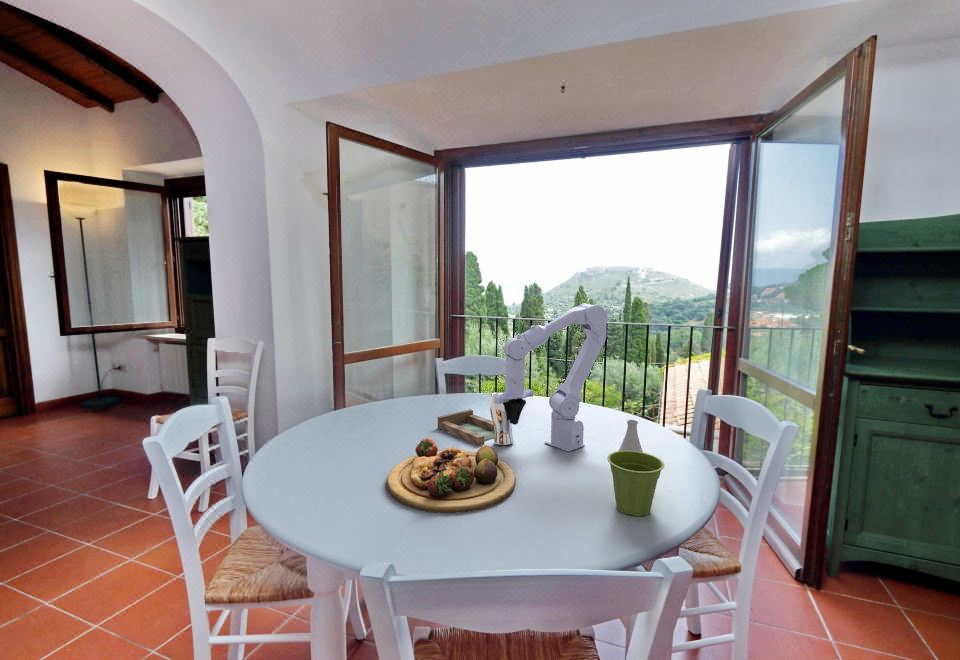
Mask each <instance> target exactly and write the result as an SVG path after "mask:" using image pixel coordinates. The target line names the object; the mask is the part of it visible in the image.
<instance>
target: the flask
mask: <svg viewBox="0 0 960 660" xmlns="http://www.w3.org/2000/svg"><path fill="white" fill-rule="evenodd" d="M626 423H627V427H626V432H625V435H624V437H623V439H622V442H621V444H620V447H619V448H618V451H638V452H643V453H644V451H643V448H642V445H641V442H640V437H639V435H638V434H639V433H638V424H639V421H638V420H635V419H627V420H626Z"/></svg>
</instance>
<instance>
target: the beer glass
mask: <svg viewBox="0 0 960 660" xmlns="http://www.w3.org/2000/svg"><path fill="white" fill-rule="evenodd" d="M503 393H505V391H503V392H494V393H490V394H489V409H490V411H489V412H490V417H491V421H493V426H494V431H495V436H494V438H493V444H495V445H498V446H507V445H511V444H513V443H514V436H513V428H512V427H513V426H512V425H513V424H511V423H510V420H509V416H508V413H507V410H506V408H505V406H504V404H503V403H501V404H496V403H494V397H495V396H498V395H500V394H503Z"/></svg>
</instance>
